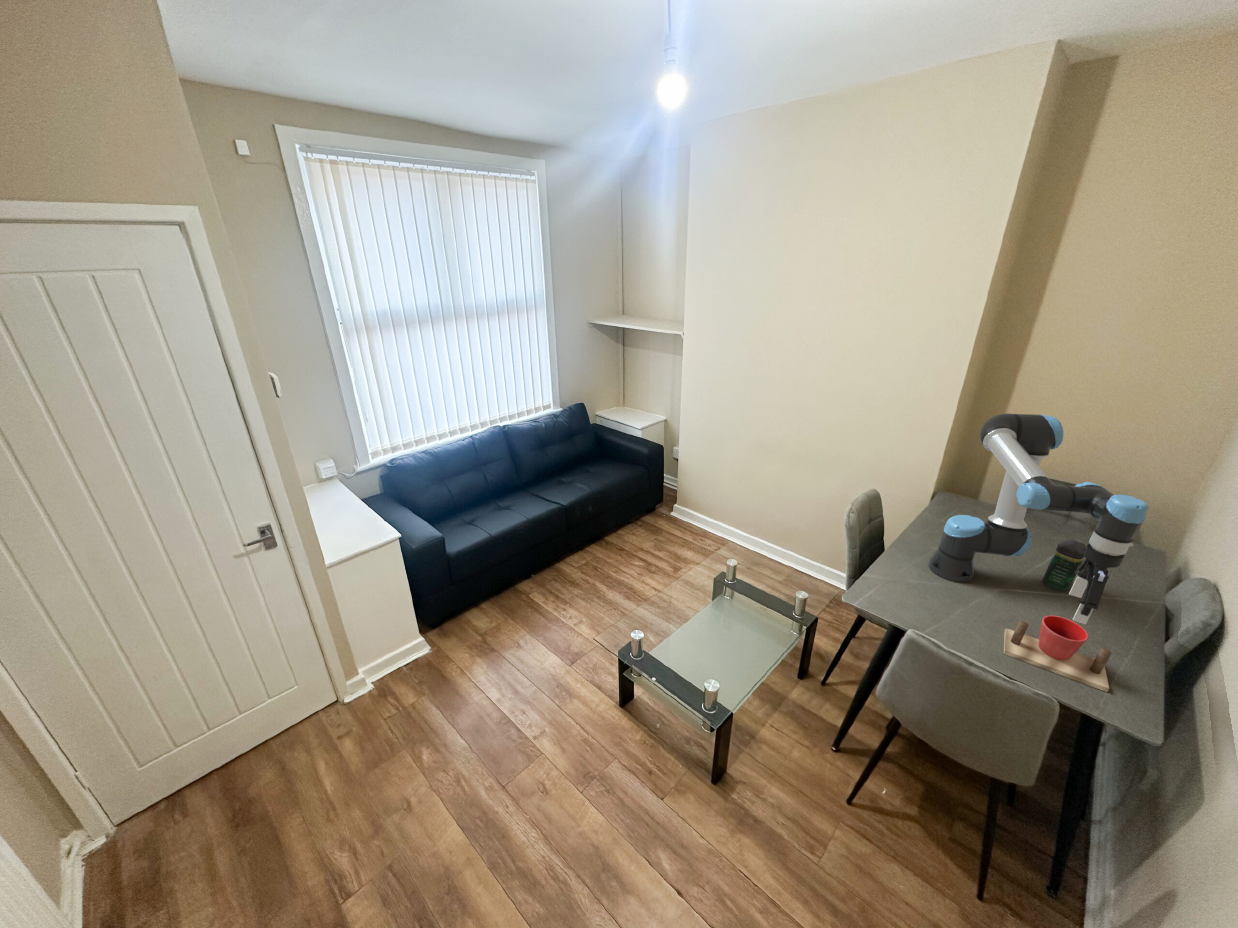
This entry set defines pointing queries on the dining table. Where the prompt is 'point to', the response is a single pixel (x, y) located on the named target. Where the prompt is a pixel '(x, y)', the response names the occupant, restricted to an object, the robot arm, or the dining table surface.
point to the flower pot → (1061, 637)
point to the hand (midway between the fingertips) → (1076, 608)
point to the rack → (1072, 668)
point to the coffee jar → (1064, 565)
